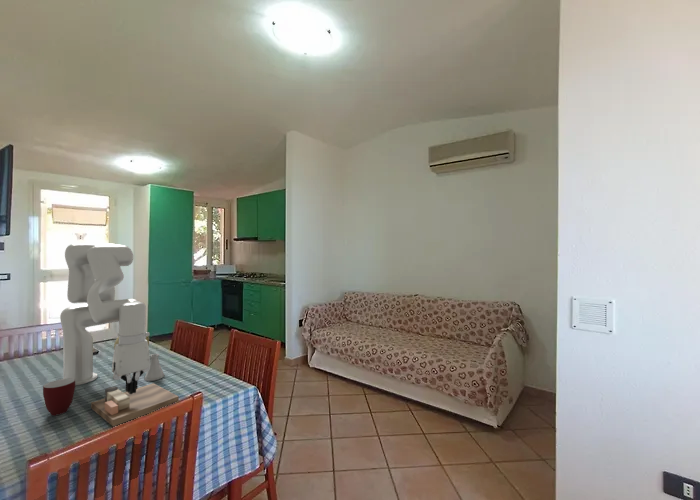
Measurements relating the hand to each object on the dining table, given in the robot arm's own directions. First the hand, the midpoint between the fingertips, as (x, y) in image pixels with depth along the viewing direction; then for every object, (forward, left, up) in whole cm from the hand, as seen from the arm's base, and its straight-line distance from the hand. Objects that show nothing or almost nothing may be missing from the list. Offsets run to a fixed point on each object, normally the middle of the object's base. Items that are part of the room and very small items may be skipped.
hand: (131, 392), depth 110 cm
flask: (-24, +18, -7) cm, 31 cm away
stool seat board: (-3, +3, -6) cm, 7 cm away
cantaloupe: (-61, +23, -7) cm, 66 cm away
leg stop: (0, -6, -4) cm, 7 cm away
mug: (-20, -15, -7) cm, 25 cm away
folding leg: (-5, -3, -4) cm, 7 cm away
